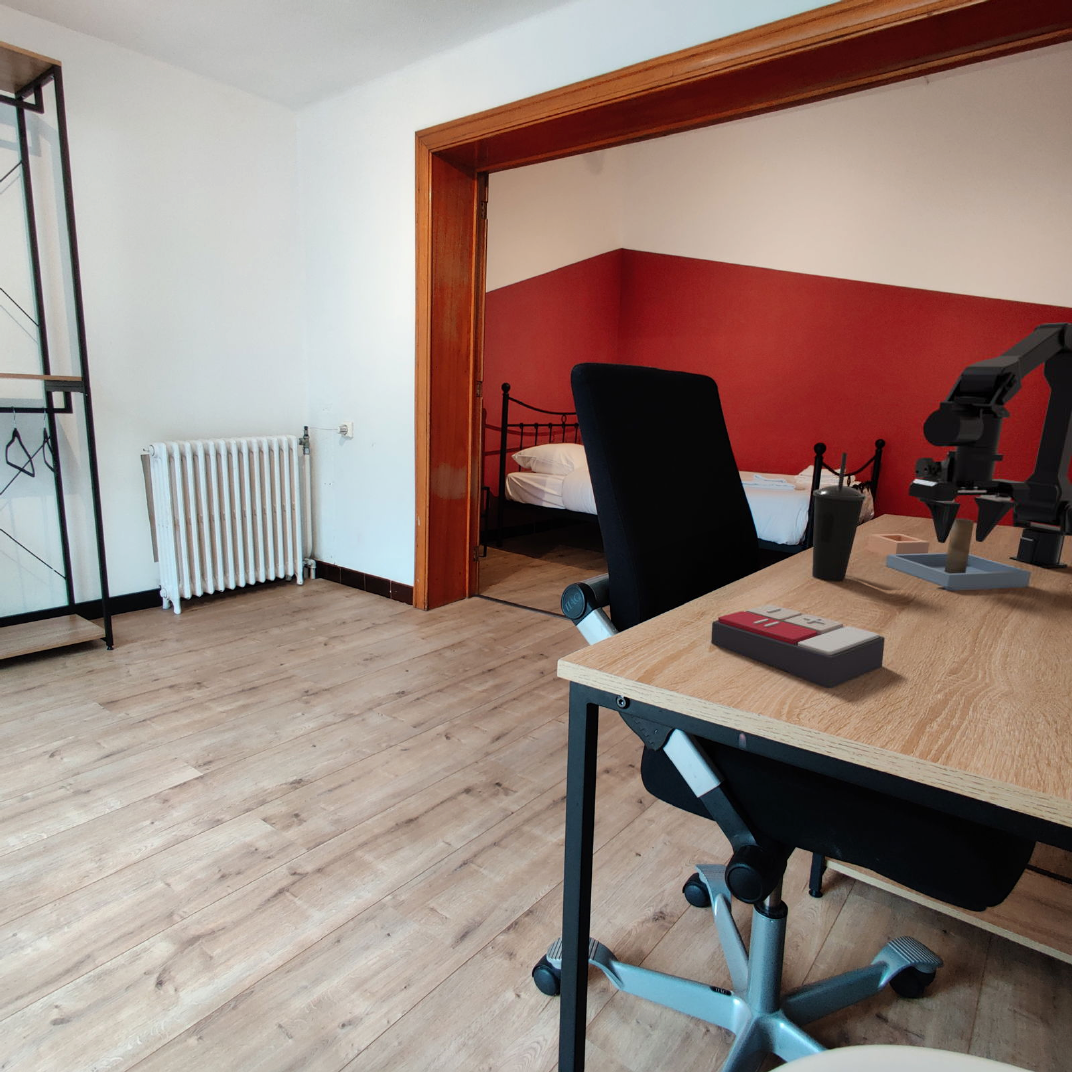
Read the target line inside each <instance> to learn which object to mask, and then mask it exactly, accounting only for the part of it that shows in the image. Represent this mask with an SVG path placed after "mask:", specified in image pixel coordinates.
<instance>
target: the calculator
mask: <svg viewBox="0 0 1072 1072" xmlns="http://www.w3.org/2000/svg"><path fill="white" fill-rule="evenodd" d="M710 643H711V644H712V645H715V646H717V647H720V648H722V649H725V650H728V651H730V652H732V653H735V654H737V655H740V656H743V657H745V658H748V659H751V660H754V661H756V662H759V663H761V664H764V665H767V666H771V667H773V668H777V669H780V670H782V671H785V672H787V673H789V674H790V675H791V676H794V677H797V678H799V679H802V680H804V681H807V682H809V683H812V684H815V685H817V686H820V687H823V688H825V689H833V688H835V687H838V686H839V685H843V684H845V683H847V682H849V681H852V680H854V679H857V678H859V677H861V676H864V675H866V674H869V673H871V672H873V671H876V670H877V669H878V670H879V669H880V668H882V667H883V660H884V651H885V650H884V649H885V637H884V636H882V635H880V634H879V633H877V632H874V631H869V630H865V629H862V628H859V627H858V628H857V627H854V626H849V625H847V626H844V623H843V622H841V621H836V620H834V619H833V620H832V619H829V618H825V617H822V616H821V617H820V616H817V615H813V614H809V613H806V614H802V612H801V611H797V610H794V609H789V608H785V607H782V606H777V605H774V604H769V603H767V604H763V605H759V606H756V607H753V608H752V607H751V608H748V609H746V611H743V610H741V611H737V612H733V613H728V614H726V615H722V616H719V617H718V618H717V620H714V621H713V620H712V622H711V640H710Z"/></svg>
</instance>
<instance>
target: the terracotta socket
mask: <svg viewBox="0 0 1072 1072" xmlns="http://www.w3.org/2000/svg"><path fill="white" fill-rule="evenodd" d="M868 535H869V536H868V540H867V541H868V542H867V549H866V550H867V551H868V552H871V553H874V554H876V555H880V556H882V557H886V558H887V555H890V554H922V553H929V548H930V541H928V540H924V539H920V538H916V537H914V536H913V537H912V536H909V535H906V534H902V533H879V534H878V533H875V534H874V533H873V534H868Z"/></svg>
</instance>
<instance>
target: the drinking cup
mask: <svg viewBox="0 0 1072 1072" xmlns="http://www.w3.org/2000/svg"><path fill="white" fill-rule="evenodd" d="M847 456H848V452H842V454H841V463H840V468H839V469H840V470H839V476H838V477H839V478H838V483H837V484H838V485H835V484H834V485H827V486H824V487H821V488H819V489H815V490H814V491H813V493H812V495H813V496H814V506H813V507H814V511H813V512H814V513H813V514H814V515H813V539H812V540H813V542H812V544H813V545H812V546H813V547H812V571H811V572H812V577H813V578H816V579H819V580H823V581H828V582H829V581H830V582H842V581H844V580H845V579H846V574H847V570H848V566H849V563H850V558H851V554H852V550H853V545H854V542H855V539H856V538H855V537H856V533H857V529H858V525H859V521H860V516H861V513H862V512H861V511H862V508H863V504H864V501H865V500H866V499H867V495H866V494H864V493H862V492H861V491H859V490H858V489H855V488H853V487H850V486H848V485H847V486H846V485H844V481H845V473H846V467H847V465H846V464H847V460H848V459H847V458H848V457H847Z"/></svg>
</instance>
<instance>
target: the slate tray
mask: <svg viewBox="0 0 1072 1072" xmlns="http://www.w3.org/2000/svg"><path fill="white" fill-rule="evenodd" d="M946 558H947V552H933V553H932V552H930V553H929V552H928V553H922V554H890V555H887V557H886V560H885V567H886V568H889V569H893V570H895V571H898V572H901V573H904V574H906V575H909V576H913V577H914V578H915V577H916V578H919V579H921V580H923V581H927V582H930V583H932V584H935V585H937V586H938V585H939V586H940V587H939V586H938V587H937V588H938V589H941V590H943V591H946V592H948V591H949V592H951V591H968V590H970V591H971V590H991V589H1010V588H1011V589H1012V588H1015V589H1016V588H1028V587H1029V585H1030V580H1031V579H1030V578H1031V574H1032V571H1030V570H1026V569H1023V568H1019V567H1016V566H1012V565H1009V564H1005V563H1003V562H998V561H994V560H991V559H988V558H984V557H980V556H977V555H974V554H971V553H969V556H968V562H967V568H966V573H951V574H949V573H946V572H944V571H945V565H946Z"/></svg>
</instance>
